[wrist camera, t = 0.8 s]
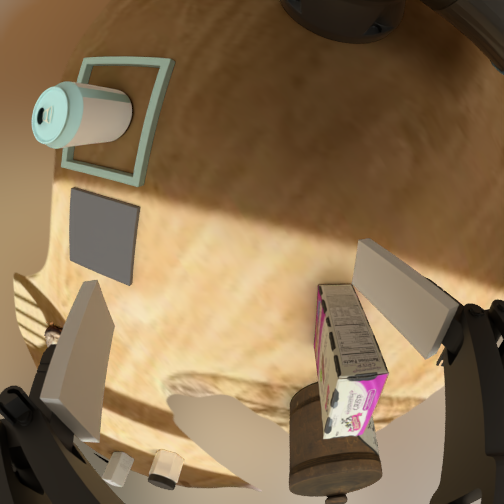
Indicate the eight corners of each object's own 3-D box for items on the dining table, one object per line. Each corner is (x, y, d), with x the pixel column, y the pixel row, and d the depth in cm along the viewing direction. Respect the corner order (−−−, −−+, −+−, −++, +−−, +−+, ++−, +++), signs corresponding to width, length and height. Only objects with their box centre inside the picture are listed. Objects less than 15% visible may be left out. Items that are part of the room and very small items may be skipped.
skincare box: (124, 458, 74) (113, 485, 61) (112, 450, 73) (100, 478, 59) (135, 458, 72) (123, 488, 58) (122, 451, 70) (109, 480, 56)
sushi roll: (90, 337, 45) (80, 350, 41) (98, 379, 51) (90, 391, 47) (40, 309, 45) (29, 319, 41) (52, 353, 51) (44, 363, 47)
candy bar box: (345, 344, 38) (364, 436, 23) (313, 346, 39) (320, 440, 24) (354, 281, 34) (392, 374, 19) (317, 282, 34) (335, 380, 19)
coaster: (74, 187, 33) (71, 188, 32) (140, 206, 33) (137, 208, 32) (72, 258, 37) (70, 260, 37) (132, 283, 38) (129, 286, 37)
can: (103, 151, 30) (39, 164, 19) (86, 111, 28) (22, 112, 17) (142, 122, 28) (80, 120, 17) (123, 80, 26) (60, 65, 15)
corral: (90, 59, 25) (83, 57, 24) (175, 61, 25) (170, 58, 24) (67, 165, 31) (61, 166, 30) (143, 184, 32) (138, 187, 30)
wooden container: (364, 414, 45) (378, 504, 25) (295, 425, 48) (292, 517, 28) (368, 370, 40) (393, 484, 20) (284, 385, 43) (277, 501, 23)
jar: (176, 462, 66) (167, 490, 55) (154, 452, 64) (143, 480, 53) (188, 458, 62) (179, 489, 51) (164, 447, 61) (153, 479, 50)
